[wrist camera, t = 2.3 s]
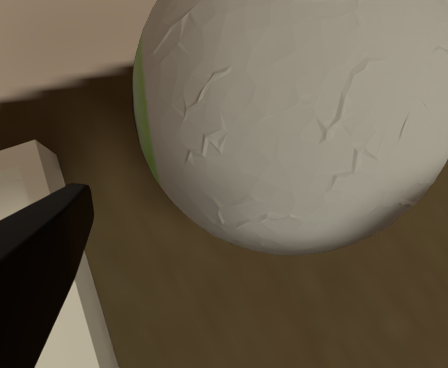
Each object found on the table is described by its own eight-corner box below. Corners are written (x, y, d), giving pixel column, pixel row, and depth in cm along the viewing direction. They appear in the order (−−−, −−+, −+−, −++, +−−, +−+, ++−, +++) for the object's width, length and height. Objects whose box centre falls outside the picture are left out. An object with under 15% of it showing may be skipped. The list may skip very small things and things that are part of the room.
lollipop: (171, 135, 20) (73, -189, 6) (298, 123, 21) (508, -210, 6) (184, 267, 19) (95, 284, 4) (319, 250, 19) (663, 213, 5)
